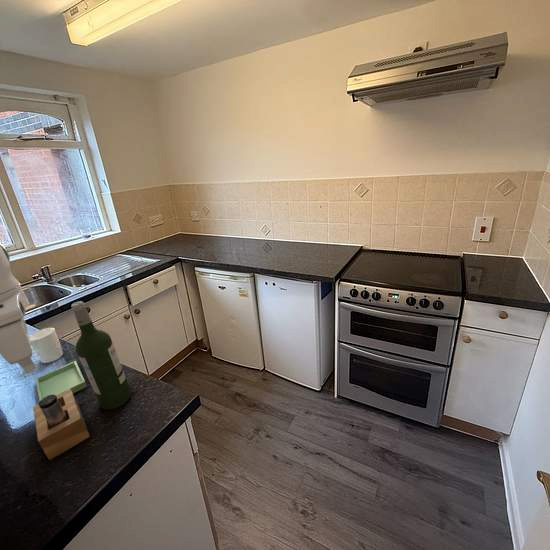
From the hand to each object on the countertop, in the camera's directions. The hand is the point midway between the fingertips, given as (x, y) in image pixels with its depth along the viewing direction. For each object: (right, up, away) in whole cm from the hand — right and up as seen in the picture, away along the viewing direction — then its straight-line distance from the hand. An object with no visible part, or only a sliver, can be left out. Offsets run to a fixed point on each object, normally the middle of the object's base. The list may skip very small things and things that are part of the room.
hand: (29, 361), depth 65 cm
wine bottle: (+9, -16, +18) cm, 26 cm away
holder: (+1, -20, +10) cm, 23 cm away
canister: (+3, -21, +8) cm, 23 cm away
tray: (-12, -15, +27) cm, 33 cm away
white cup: (-27, -11, +43) cm, 52 cm away
